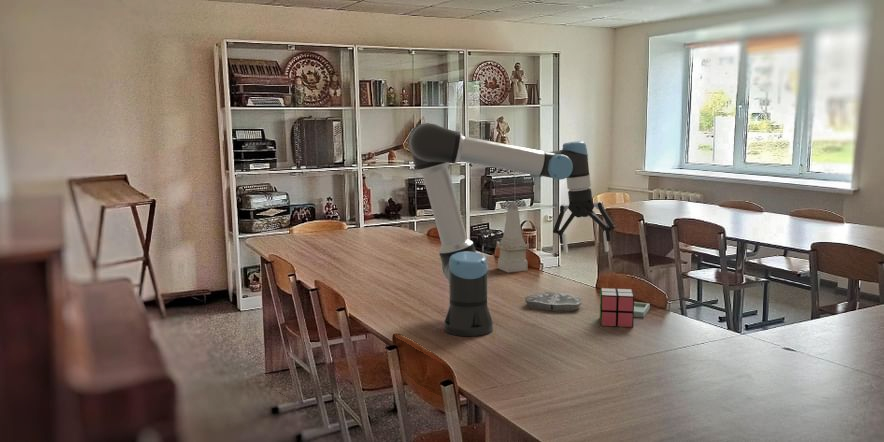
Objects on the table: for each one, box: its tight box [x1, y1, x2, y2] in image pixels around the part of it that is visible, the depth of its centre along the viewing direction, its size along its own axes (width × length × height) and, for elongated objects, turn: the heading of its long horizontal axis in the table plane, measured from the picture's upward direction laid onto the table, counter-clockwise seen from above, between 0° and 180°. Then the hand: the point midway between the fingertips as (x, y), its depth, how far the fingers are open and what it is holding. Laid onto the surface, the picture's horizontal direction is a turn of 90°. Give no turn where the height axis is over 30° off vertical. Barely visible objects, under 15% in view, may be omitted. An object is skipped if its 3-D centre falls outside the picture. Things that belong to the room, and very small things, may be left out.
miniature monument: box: [496, 201, 530, 273], centre depth 301 cm, size 10×10×30 cm
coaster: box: [633, 301, 651, 319], centre depth 234 cm, size 12×12×2 cm
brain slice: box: [524, 291, 583, 312], centre depth 242 cm, size 20×17×3 cm
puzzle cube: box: [599, 287, 635, 328], centre depth 220 cm, size 10×10×10 cm
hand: (586, 252), depth 230 cm, fingers open, 13 cm apart
